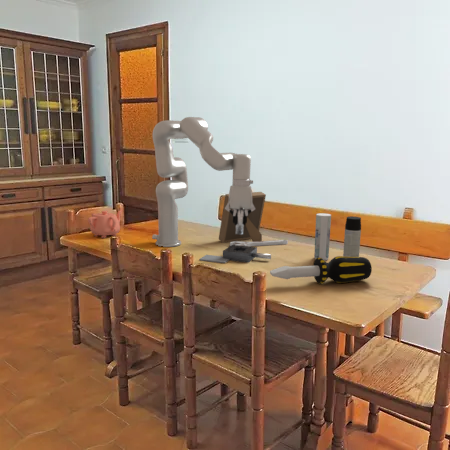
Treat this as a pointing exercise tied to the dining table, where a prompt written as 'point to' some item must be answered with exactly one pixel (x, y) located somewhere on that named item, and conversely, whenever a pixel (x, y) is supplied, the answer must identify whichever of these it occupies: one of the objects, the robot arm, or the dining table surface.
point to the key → (240, 221)
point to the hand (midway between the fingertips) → (239, 224)
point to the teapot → (105, 223)
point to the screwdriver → (329, 270)
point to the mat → (214, 259)
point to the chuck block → (243, 253)
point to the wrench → (259, 243)
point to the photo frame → (251, 226)
